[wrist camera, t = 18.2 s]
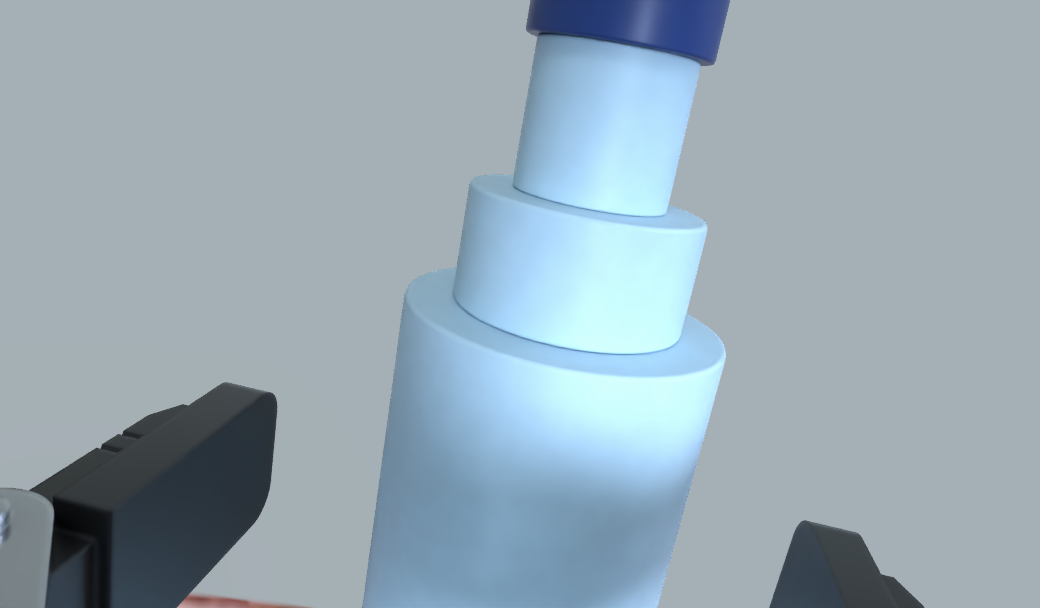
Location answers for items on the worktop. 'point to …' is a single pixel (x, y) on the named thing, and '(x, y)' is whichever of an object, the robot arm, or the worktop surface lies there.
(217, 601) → the worktop surface
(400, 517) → the bottle
